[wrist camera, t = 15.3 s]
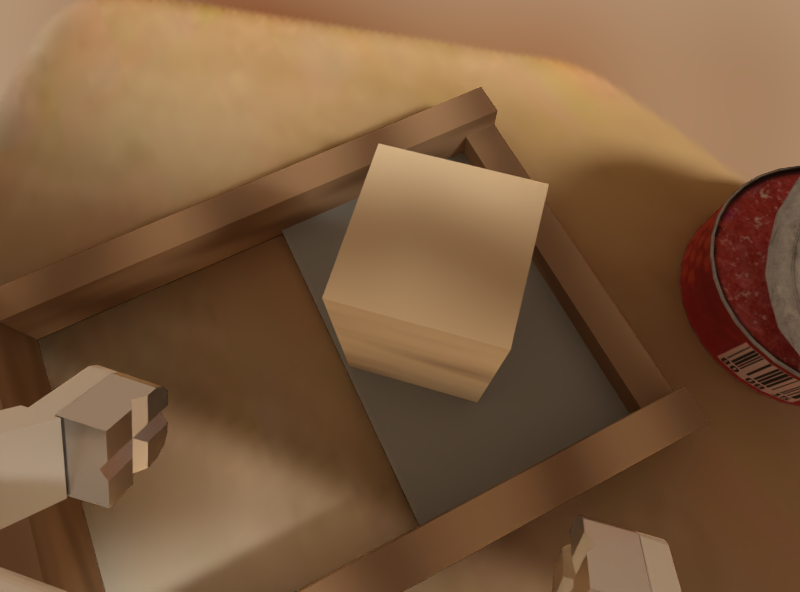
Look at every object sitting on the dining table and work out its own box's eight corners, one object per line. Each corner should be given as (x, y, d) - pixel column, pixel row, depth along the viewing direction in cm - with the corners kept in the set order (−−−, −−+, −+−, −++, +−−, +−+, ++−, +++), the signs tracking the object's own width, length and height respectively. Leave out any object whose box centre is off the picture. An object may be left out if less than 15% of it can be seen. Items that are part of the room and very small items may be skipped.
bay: (475, 122, 28) (483, 71, 25) (679, 431, 23) (724, 418, 20) (-5, 324, 25) (-68, 296, 22) (99, 749, 19) (35, 798, 16)
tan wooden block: (387, 251, 26) (378, 143, 18) (506, 282, 25) (548, 183, 17) (349, 366, 24) (322, 298, 16) (477, 402, 23) (510, 349, 16)
